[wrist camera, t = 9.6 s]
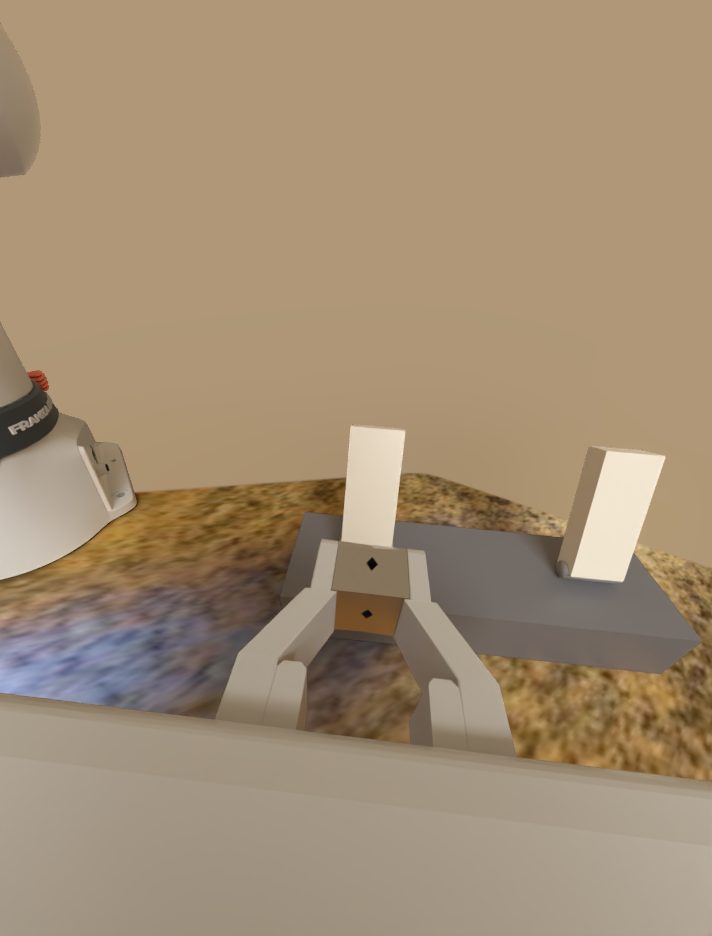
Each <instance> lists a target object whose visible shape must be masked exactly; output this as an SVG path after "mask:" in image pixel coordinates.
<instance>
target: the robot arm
mask: <svg viewBox="0 0 712 936" xmlns="http://www.w3.org/2000/svg"><path fill="white" fill-rule="evenodd" d="M39 143H40V117H39V110H38V106H37V102H36V97H35V94H34V90H33V87H32V84H31V82H30V79H29V76H28V74H27V72H26V69H25V67H24V65H23V62H22V60H21V58H20V56H19V54H18V53H17V51H16V49H15V47H14V45H13V43H12V42H11V40H10V38H9V36H8V35H7V33H6V32H5V30H4V28H3V27H2V25H1V23H0V177H9V176H18V175H25V174H26V173H27V172H28V170H29V169H30V168H31V166H32V164H33V162H34V160H35V159H36V155H37V152H38V149H39ZM44 376H45V375H44V374H43V373H42V372H41V371H32V372H28V373H27V372H26V370H25V368H24V367H23V365H22V363H21V361H20V359H19V357H18V355H17V353H16V351H15V349H14V347H13V346H12V343H11V341H10V340H9V338H8V336H7V334H6V332H5V330H4V328H3V326H2V324H1V322H0V580H1V579H5V578H9V577H13V576H17V575H20V574H23V573H26V572H29V571H32V570H34V569H37V568H40V567H42V566H44V565H47V564H49V563H51V562H53V561H55V560H57V559H59V558H61V557H63V556H65V555H67V554H68V553H70V552H72V551H73V550H75V549H77V548H78V547H80V546H81V545H83V544H84V543H85V542H87V541H88V540H89V539H91V538H92V537H93V536H94V535H95V534H96V533H98V532H99V531H100V530H101V529H102V528H103V527H104V526H105V525H106V524H108V523H109V522H110V521H112V520H114V519H116V518H118V517H119V516H121V515H123V514H125V513H126V512H128V511H130V510H131V509H133V508H134V507H135V506H136V504H137V500H136V496H135V493H134V490H133V487H132V484H131V480H130V477H129V474H128V471H127V468H126V464H125V461H124V458H123V454H122V451H121V449H120V448H119V446H118V445H117V444H114V443H105V442H95V440H94V437H93V435H92V433H91V431H90V429H89V427H88V425H87V424H86V423H85V422H84V421H82V420H80V419H77V418H74V417H71V416H68V415H65V414H62V413H59V412H58V409H57V408H56V407H55V405H54V404H53V403H52V400H51V398H50V397H49V395H48V394H47V393H46V392H44V391H47V390H48V388H49V386H48V381H46V379H47V378H46V377H44ZM334 629H340V630H351V631H362V632H369V633H376V634H383V635H390V636H394V640H395V641H396V643H397V645H398V647H399V649H400V651H401V653H402V655H403V657H404V659H405V661H406V663H407V665H408V667H409V669H410V671H411V673H412V675H413V676H414V678H415V680H416V682H417V684H418V686H419V688H420V690H421V692H422V694H423V696H422V698H421V700H420V702H419V704H418V706H417V708H416V710H415V712H414V714H413V716H412V718H411V720H410V722H409V728H410V744H406V743H398V742H390V741H382V740H374V739H366V738H358V737H350V736H342V735H334V734H326V733H318V732H310V731H304V729H305V722H306V716H307V669H306V668H307V667H308V665H309V664H310V663H311V661H312V660H313V659H314V657H315V656H316V655H317V653H318V652H319V650H320V649H321V648H322V646H323V645H324V644H325V642H326V641H327V640H328V638H329V637H330V636H331V634H332V633H333V632H334ZM0 936H712V781H704V780H695V779H687V778H679V777H671V776H663V775H655V774H647V773H639V772H631V771H623V770H615V769H607V768H599V767H591V766H583V765H575V764H567V763H559V762H551V761H543V760H535V759H527V758H519V757H517V756H516V752H515V748H514V744H513V740H512V736H511V732H510V727H509V723H508V719H507V715H506V711H505V707H504V703H503V699H502V695H501V691H500V686H499V684H498V683H497V681H496V680H495V679H494V677H493V676H492V675H491V674H490V672H489V671H488V670H487V668H486V667H485V666H484V664H483V663H482V662H481V660H480V659H479V658H478V656H477V655H476V654H475V653H474V651H473V650H472V649H471V647H470V646H469V645H468V643H467V642H466V641H465V639H464V638H463V637H462V635H461V634H460V633H459V632H458V630H457V629H456V628H455V626H454V625H453V624H452V622H451V621H450V620H449V618H448V617H447V616H446V614H445V613H444V612H443V611H442V609H441V608H440V607H439V605H438V604H437V603H434V602H431V596H430V588H429V579H428V571H427V563H426V554H425V552H424V551H423V550H414V549H406V548H397V547H388V546H378V545H365V544H358V543H351V542H344V541H335V540H327V539H322V540H321V542H320V545H319V550H318V555H317V559H316V564H315V568H314V573H313V578H312V582H311V587H310V588H304V589H303V590H302V591H301V592H300V593H299V594H298V595H297V596H296V597H295V598H294V599H293V600H292V601H291V602H290V603H289V604H288V605H287V606H286V607H285V608H284V609H282V610H281V611H280V612H279V613H278V614H277V615H276V616H275V617H274V618H273V619H272V620H271V621H270V622H269V623H268V624H267V625H266V626H265V627H264V628H263V629H262V630H261V631H260V632H259V633H258V634H257V635H256V636H255V637H254V638H253V639H252V640H251V641H250V642H249V643H248V644H247V645H246V646H245V647H244V648H243V649H242V650H241V651H240V652H239V653H238V655H237V658H236V661H235V664H234V666H233V669H232V672H231V675H230V678H229V680H228V683H227V686H226V689H225V691H224V694H223V697H222V700H221V703H220V705H219V708H218V711H217V714H216V716H215V719H206V718H198V717H190V716H182V715H174V714H165V713H157V712H149V711H141V710H133V709H125V708H117V707H109V706H101V705H93V704H85V703H77V702H69V701H61V700H53V699H45V698H37V697H29V696H21V695H13V694H5V693H0Z"/></svg>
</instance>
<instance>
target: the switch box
mask: <svg viewBox="0 0 712 936" xmlns="http://www.w3.org/2000/svg"><path fill="white" fill-rule="evenodd" d="M342 526H343V516H339V515H329V514H319V513H309V512H305V514H304V517H303V520H302V524H301V527H300V530H299V534H298V537H297V540H296V544H295V547H294V550H293V553H292V557H291V560H290V563H289V567H288V570H287V573H286V577H285V580H284V583H283V586H282V590H281V593H280V603H281V610H282V609H284V608H285V607H286V606H287V605H288V604H289V603H290V602H291V601H292V600H293V599H294V598H295V597H296V596H297V595H298V594H299V593H300V592H301V591H302V590H303V589H304V588H310V587H311V582H312V578H313V573H314V568H315V564H316V559H317V555H318V550H319V545H320V542H321V540H322V539H327V540H335V541H339V540H340V538H342ZM563 539H564V538H562V537H552V536H541V535H531V534H521V533H511V532H501V531H491V530H481V529H471V528H461V527H450V526H440V525H430V524H420V523H410V522H400V521H395V525H394V534H393V542H392V543H393V545H394V547H397V548H406V549H414V550H423V551H424V552H425V554H426V563H427V571H428V579H429V588H430V596H431V602H434V603H437V604H438V605H439V607H440V608H441V609H442V611H443V612H444V613H445V614H446V616H447V617H448V618H449V620H450V621H451V622H452V624H453V625H454V626H455V628H456V629H457V630H458V632H459V633H460V634H461V635H462V637H463V638H464V639H465V641H466V642H467V643H468V645H469V646H470V647H471V649H472V650H473V651H474V653H475V654H484V655H493V656H502V657H511V658H521V659H530V660H539V661H548V662H557V663H566V664H575V665H584V666H593V667H602V668H611V669H620V670H629V671H638V672H647V673H656V674H661V673H662V672H664V671H665V670H666V669H668V668H669V667H670V666H671V665H673V664H674V663H675V662H677V661H678V660H679V659H681V658H682V657H683V656H684V655H686V654H687V653H688V652H690V651H691V650H692V649H693V648H695V647H696V646H697V645H699V644H700V643H701V642H702V640H701V639H700V637H699V636H698V635H697V633H696V632H695V631H694V630H693V628H692V627H691V626H690V625H689V623H688V622H687V621H686V619H685V618H684V617H683V616H682V614H681V613H680V612H679V610H678V609H677V608H676V607H675V605H674V604H673V603H672V601H671V600H670V599H669V598H668V596H667V595H666V594H665V592H664V591H663V590H662V589H661V587H660V586H659V585H658V583H657V582H656V581H655V580H654V578H653V577H652V576H651V575H650V573H649V572H648V571H647V569H646V568H645V567H644V566H643V564H642V563H641V562H640V560H639V559H638V558H637V557H636V555H635V554H634V553H633V555H632V558H631V561H630V564H629V567H628V570H627V573H626V576H625V579H624V581H623V582H622V583H620V584H612V583H603V582H593V581H583V580H573V579H564V578H560V577H559V576H558V575H557V572H556V565H557V561H558V557H559V554H560V550H561V546H562V543H563ZM330 637H331V638H340V639H349V640H358V641H367V642H376V643H385V644H394V645H397V643H396V641H395V640H394V636H390V635H383V634H376V633H369V632H362V631H351V630H340V629H334V632H333V633H332V634H331V636H330Z"/></svg>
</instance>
